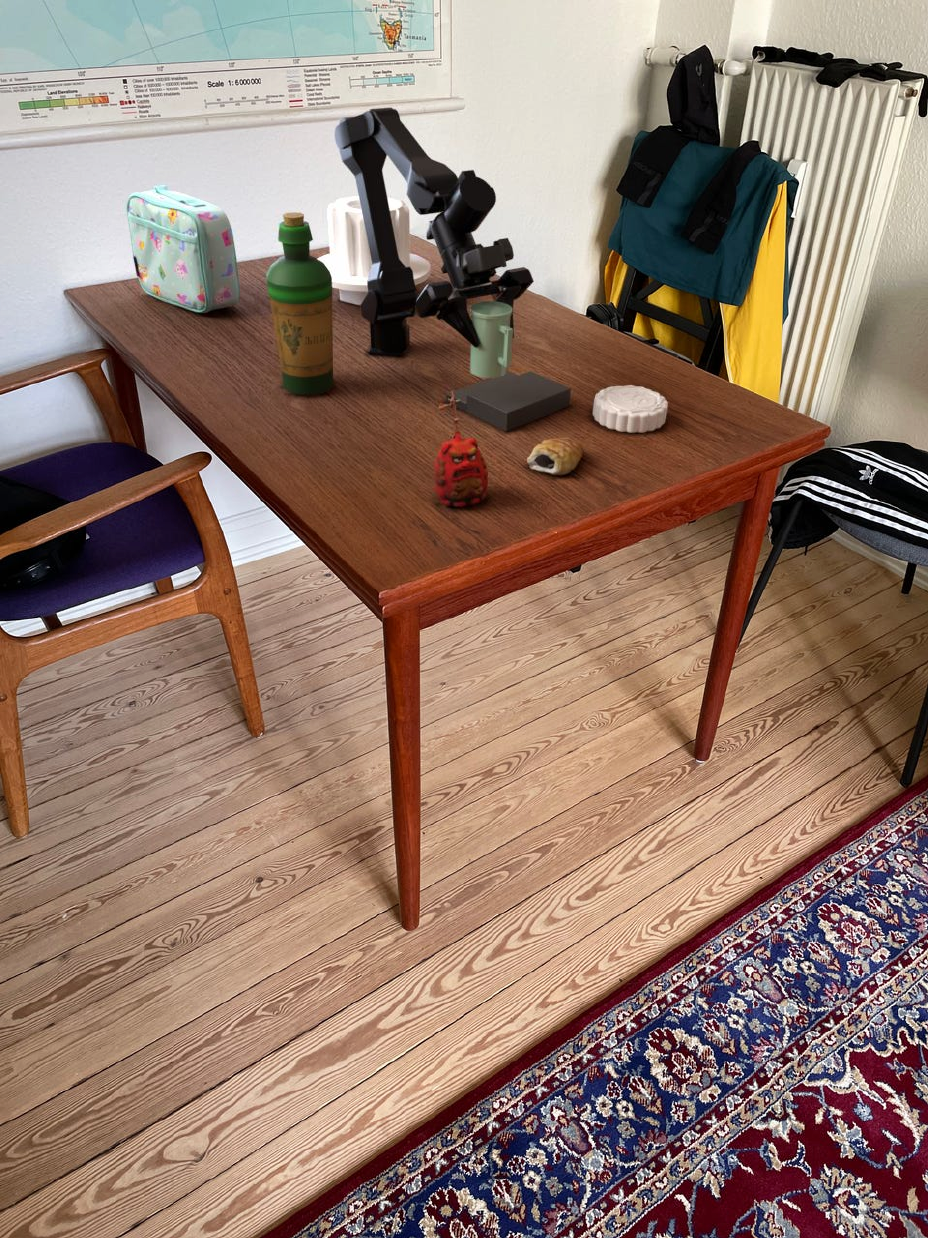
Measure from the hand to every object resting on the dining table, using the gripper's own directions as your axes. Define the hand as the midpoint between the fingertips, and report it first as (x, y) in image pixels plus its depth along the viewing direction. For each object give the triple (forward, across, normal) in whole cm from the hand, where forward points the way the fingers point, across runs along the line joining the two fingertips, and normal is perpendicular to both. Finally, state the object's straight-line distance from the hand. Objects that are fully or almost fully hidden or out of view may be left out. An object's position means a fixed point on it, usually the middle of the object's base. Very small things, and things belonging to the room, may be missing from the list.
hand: (494, 342), depth 140 cm
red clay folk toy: (+22, -18, -4) cm, 29 cm away
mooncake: (+17, +20, +2) cm, 26 cm away
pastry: (+22, 0, -3) cm, 22 cm away
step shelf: (+7, +6, +12) cm, 15 cm away
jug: (+3, 0, +4) cm, 5 cm away
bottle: (-9, -20, +28) cm, 36 cm away
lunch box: (-46, -24, +66) cm, 84 cm away
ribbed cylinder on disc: (-34, +11, +53) cm, 64 cm away
